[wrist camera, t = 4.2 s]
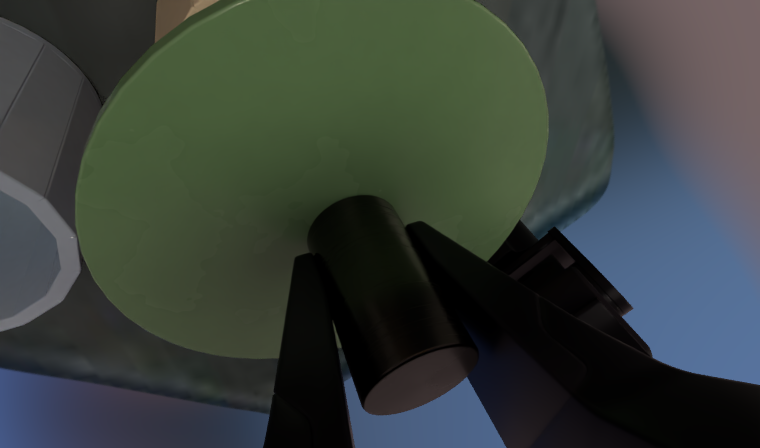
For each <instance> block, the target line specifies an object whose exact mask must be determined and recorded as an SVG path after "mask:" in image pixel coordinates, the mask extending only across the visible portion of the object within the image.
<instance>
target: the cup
mask: <svg viewBox="0 0 760 448" xmlns="http://www.w3.org/2000/svg"><path fill="white" fill-rule="evenodd" d="M101 108H102V104H101V101H100V99H99V97H98V95H97V93H96V91H95V89H94V88H93V86H92V85H91V83H90V82H89V80H88V79H87V77H86V76H85V75H84V74H83V73H82V71H81V70H80V69H79V68H78V67H77V66H76V65H75V64H74V63H73V62H72V61H71V60H70V59H69V58H68V57H67V56H66V55H65V54H63V53H62V52H61V51H60V50H58V49H57V48H56V47H55V46H53V45H52V44H50V43H49V42H47V41H46V40H45V39H43V38H42V37H40V36H38V35H37V34H35V33H33V32H31V31H29V30H28V29H26V28H24V27H22V26H20V25H18V24H15V23H13V22H11V21H9V20H7V19H4V18H1V17H0V332H1V331H4V330H8V329H11V328H15V327H18V326H22V325H24V324H26V323H28V322H30V321H32V320H33V319H35V318H36V317H38V316H40V315H41V314H43V313H44V312H46V311H48V310H49V309H51V308H53V307H54V306H56V305H57V304H59V303H61V302H62V301H63V300H64V299H65V297H66V295H67V294H68V292H69V290H70V289H71V287H72V286H73V284H74V282H75V281H76V279H77V277H78V276H79V274H80V272H81V269H82V263H83V258H84V257H83V255H82V253H81V249H80V245H79V240H78V236H77V231H76V227H75V189H76V184H77V179H78V174H79V169H80V164H81V159H82V155H83V151H84V147H85V144H86V142H87V139H88V137H89V135H90V132H91V130H92V128H93V125H94V123H95V120H96V118H97V116H98V113H99V111H100V110H101Z"/></svg>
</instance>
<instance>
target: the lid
mask: <svg viewBox="0 0 760 448" xmlns="http://www.w3.org/2000/svg"><path fill="white" fill-rule="evenodd" d="M547 142H548V108H547V101H546V95H545V90H544V87H543V84H542V81H541V78H540V75H539V72H538V70H537V67H536V65H535V63H534V61H533V60H532V58H531V56H530V54H529V53H528V51H527V49H526V47H525V46H524V44H523V43H522V42H521V40H520V39H519V38H518V37H517V36H516V35H515V34H514V32H513V31H512V30H511V29H510V28H509V27H508V25H507V24H506V23H505V22H504V21H502V20H501V19H500V18H498V17H497V16H496V15H495V14H493V13H492V12H491V11H489V10H488V9H487V8H486V7H484V6H483V5H482V4H480V3H478V2H477V1H475V0H219V1H217V2H216V3H214V4H212V5H210V6H208V7H206V8H205V9H203V10H201V11H199V12H197V13H195V14H193V15H192V16H190V17H188V18H187V19H186V20H184V21H183V22H182V23H180V24H179V25H178V26H177V27H175V28H174V29H173V30H171V31H170V32H169V33H167V34H166V35H165V36H163V37H162V38H161V39H160V40H158V41H157V42H156V43H154V44H153V45H152V46H151V47H150V48H149V49H148V50H147V51H146V52H145V53H144V54H143V55H142V56H141V58H140V59H139V60H138V61H137V62H136V63H135V64H134V65H133V66H132V67H131V68H130V69H129V70H128V71H127V72H126V73H125V75H124V76H123V77H122V78H121V79H120V81H119V82H118V84H117V85H116V87H115V88H114V90H113V92H112V93H111V95H110V96H109V98H108V99H107V101H106V102H105V104H104V105H103V107H102V108H101V110H100V111H99V113H98V116H97V118H96V120H95V123H94V125H93V128H92V130H91V132H90V135H89V137H88V139H87V142H86V144H85V147H84V151H83V155H82V159H81V164H80V169H79V174H78V179H77V184H76V189H75V227H76V231H77V236H78V240H79V245H80V249H81V253H82V255H83V257H84V260H85V262H86V264H87V266H88V268H89V270H90V273H91V275H92V277H93V279H94V280H95V282H96V283H97V284H98V286H99V287H100V288H101V290H102V291H103V293H104V294H105V295H106V297H107V298H108V300H110V301H111V302H112V303H113V304H114V305H115V306H116V307H117V308H118V309H119V310H120V311H121V312H122V313H123V314H124V315H125V316H126V317H127V318H129V319H130V320H132V321H133V322H135V323H136V324H138V325H139V326H140V327H142V328H143V329H145V330H146V331H148V332H150V333H152V334H154V335H156V336H158V337H160V338H162V339H164V340H166V341H168V342H171V343H173V344H176V345H179V346H182V347H185V348H187V349H190V350H194V351H199V352H203V353H207V354H211V355H218V356H225V357H232V358H247V359H274V358H279V354H280V347H281V341H282V335H283V328H284V322H285V315H286V309H287V302H288V296H289V290H290V283H291V277H292V270H293V264H294V259H295V257H296V256H298V255H302V254H305V253H312V254H313V256H314V259H315V262H316V264H317V267H318V270H319V272H320V275H321V278H322V280H323V283H324V286H325V289H326V292H327V295H328V300H329V305H330V310H331V316H332V321H333V326H334V331H335V337H336V342H337V347H338V348H341V347H342V349H343V352H344V355H345V358H346V361H347V364H348V367H349V370H350V373H351V376H352V379H353V382H354V385H355V387H356V391H357V393H358V396H359V399H360V402H361V405H362V407H363V409H364V410H365V411H366V412H368V413H370V414H372V415H391V414H397V413H401V412H405V411H408V410H411V409H414V408H417V407H419V406H422V405H424V404H426V403H428V402H430V401H432V400H434V399H436V398H438V397H440V396H441V395H443V394H445V393H446V392H448V391H449V390H451V389H452V388H454V387H455V386H456V385H458V384H459V383H460V382H461V381H462V380H463V379H464V378H466V377H467V376H468V375H469V374H470V373H471V371H472V370H473V369H474V367H475V366H476V364H477V362H478V359H479V351H478V348H477V346H476V345H475V343H474V341H473V340H472V338H471V336H470V335H469V333H468V331H467V330H466V328H465V326H464V325H463V323H462V321H461V319H460V318H459V316H458V314H457V313H456V311H455V309H454V308H453V306H452V304H451V303H450V301H449V299H448V298H447V296H446V294H445V293H444V291H443V289H442V288H441V286H440V284H439V283H438V281H437V279H436V278H435V276H434V274H433V273H432V271H431V269H430V267H429V266H428V264H427V262H426V261H425V259H424V257H423V256H422V254H421V252H420V251H419V249H418V247H417V246H416V244H415V242H414V241H413V239H412V237H411V236H410V234H409V232H408V231H407V229H406V225H407V224H409V223H413V222H416V221H423V222H425V223H427V224H428V225H430V226H431V227H433V228H434V229H436V230H438V231H439V232H441V233H442V234H444V235H445V236H447V237H449V238H450V239H452V240H453V241H455V242H457V243H458V244H460V245H461V246H463V247H464V248H466V249H468V250H469V251H471V252H472V253H474V254H475V255H477V256H479V257H480V258H482V259H483V260H485V261H486V262H487V261H488V260H489V259H490V258H491V257H492V256H493V254H494V253H495V252H496V251H497V250H498V249H499V248H500V246H501V245H502V244H503V242H504V241H505V240H506V239H507V237H508V236H509V235H510V233H511V232H512V230H513V229H514V227H515V226H516V224H517V223H518V221H519V220H520V218H521V217H522V215H523V213H524V211H525V209H526V207H527V205H528V204H529V202H530V200H531V198H532V195H533V193H534V191H535V188H536V186H537V183H538V181H539V178H540V175H541V171H542V167H543V164H544V160H545V156H546V149H547Z"/></svg>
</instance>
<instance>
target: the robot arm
mask: <svg viewBox="0 0 760 448" xmlns="http://www.w3.org/2000/svg"><path fill="white" fill-rule="evenodd" d="M406 229H407V231H408V232H409V234H410V236H411V237H412V239H413V241H414V242H415V244H416V246H417V247H418V249H419V251H420V252H421V254H422V256H423V257H424V259H425V261H426V262H427V264H428V266H429V267H430V269H431V271H432V273H433V274H434V276H435V278H436V279H437V281H438V283H439V284H440V286H441V288H442V289H443V291H444V293H445V294H446V296H447V298H448V299H449V301H450V303H451V304H452V306H453V308H454V309H455V311H456V313H457V314H458V316H459V318H460V319H461V321H462V323H463V325H464V326H465V328H466V330H467V331H468V333H469V335H470V336H471V338H472V340H473V341H474V343H475V345H476V346H477V348H478V351H479V359H478V362H477V364H476V366H475V367H474V369H473V370H472V371H471V373H470V374H469V375H468V376H467V377H468V379H469V381H470V383H471V385H472V387H473V388H474V390H475V392H476V394H477V396H478V397H479V399H480V401H481V402H482V404H483V406H484V408H485V410H486V412H487V413H488V415H489V417H490V419H491V420H492V422H493V424H494V426H495V428H496V430H497V431H498V433H499V435H500V437H501V438H502V440H503V442H504V444H505V446H506V447H507V448H760V385H756V384H751V383H745V382H740V381H734V380H728V379H723V378H717V377H711V376H706V375H701V374H695V373H691V372H687V371H684V370H680V369H677V368H675V367H672V366H669V365H667V364H664V363H662V362H660V361H658V360H656V359H654V358H653V357H652V353H651V350H650V348H649V347H648V345H647V344H646V343H645V342H644V341H643V340H642V339H641V337H640V336H639V335H638V334H637V333H636V332H635V331H634V330H633V329H632V328H631V327H630V326H629V324H628V323H627V322H626V321H625V320H624V319H623V318H622V316H623V315H625V314H626V313H628V312H629V311H631V310H632V309H633V308H632V306H631V305H630V304H629V303H628V302H627V300H626V299H625V298H624V297H623V296H622V295H621V294H620V293H619V292H618V291H617V290H616V289H615V288H614V286H613V285H612V284H611V283H610V282H609V281H608V280H607V279H606V278H605V277H604V276H603V275H602V274H601V273H600V272H599V271H598V270H597V269H596V268H595V267H594V266H593V264H592V263H591V262H590V261H589V260H588V259H587V258H586V257H585V256H584V255H583V254H581V253H580V251H579V250H578V249H577V248H576V247H575V246H574V245H573V244H571V242H570V241H568V239H567V238H566V237H565V236H564V235H563V234H562V233H561V232H560V231H559V230H558V229H557V228H556V227H555V226H554V227H553V228H552V229H550V230H549V231H548V234H546V235H545V236H544V237H543V238H541V239H540V240H539V241H538V239H537V238H536V237H535V236H534V235H533V234H532V233H531V232H530V230H529V229H528V228H527V227H526V226H525V225H524V224H523V223H522V222H521V220H519V221H518V223H517V224H516V226H515V227H514V229H513V230H512V232H511V233H510V235H509V236H508V237H507V239H506V240H505V241H504V242H503V244H502V245H501V246H500V248H499V249H498V250H497V251H496V252H495V253H494V254H493V256H492V257H491V258H490V259H489V260H488V261H487V262H486V261H485V260H483V259H482V258H480V257H479V256H477V255H475V254H474V253H472V252H471V251H469V250H468V249H466V248H464V247H463V246H461V245H460V244H458V243H457V242H455V241H453V240H452V239H450V238H449V237H447V236H445V235H444V234H442V233H441V232H439V231H438V230H436V229H434V228H433V227H431V226H430V225H428V224H427V223H425V222H423V221H416V222H413V223H409V224H407V225H406ZM274 393H275V394H274V395H273V397H272V404H271V410H270V416H269V421H268V426H267V432H266V437H265V442H264V446H263V448H355V445H354V439H353V434H352V428H351V422H350V417H349V410H348V405H347V399H346V394H345V387H344V382H343V376H342V370H341V364H340V359H339V353H338V347H337V342H336V337H335V331H334V326H333V321H332V316H331V310H330V305H329V300H328V295H327V292H326V289H325V286H324V283H323V280H322V278H321V275H320V272H319V270H318V267H317V264H316V262H315V259H314V256H313V254H312V253H305V254H302V255H298V256H296V257H295V259H294V264H293V270H292V277H291V283H290V290H289V296H288V302H287V309H286V315H285V322H284V328H283V335H282V341H281V347H280V354H279V360H278V367H277V373H276V380H275V386H274Z"/></svg>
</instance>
